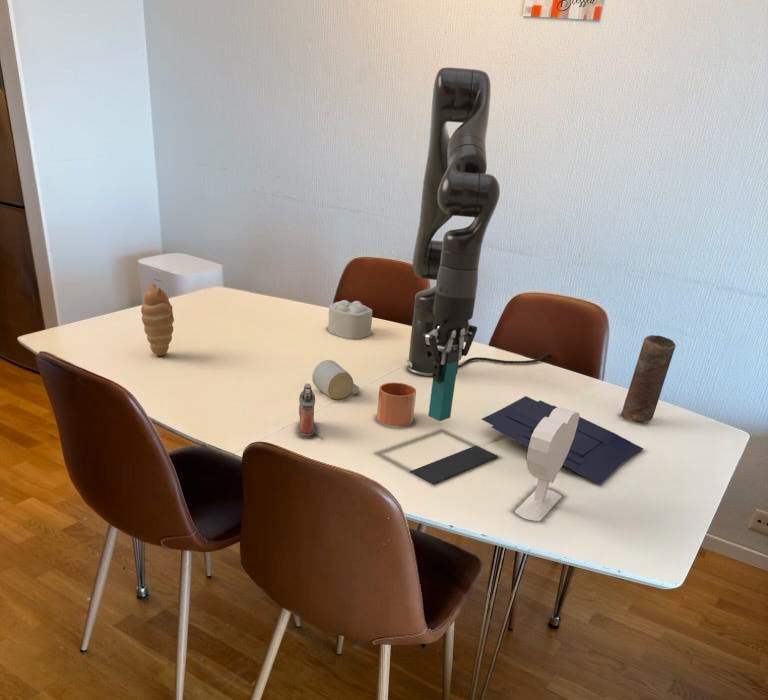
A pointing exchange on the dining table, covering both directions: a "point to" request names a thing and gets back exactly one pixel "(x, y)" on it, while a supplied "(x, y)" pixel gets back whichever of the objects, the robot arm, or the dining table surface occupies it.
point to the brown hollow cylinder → (648, 378)
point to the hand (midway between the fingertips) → (444, 379)
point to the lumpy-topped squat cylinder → (350, 319)
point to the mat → (454, 464)
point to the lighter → (306, 412)
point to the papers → (590, 444)
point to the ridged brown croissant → (157, 320)
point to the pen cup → (396, 404)
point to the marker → (444, 389)
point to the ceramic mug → (333, 380)
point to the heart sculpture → (548, 460)
